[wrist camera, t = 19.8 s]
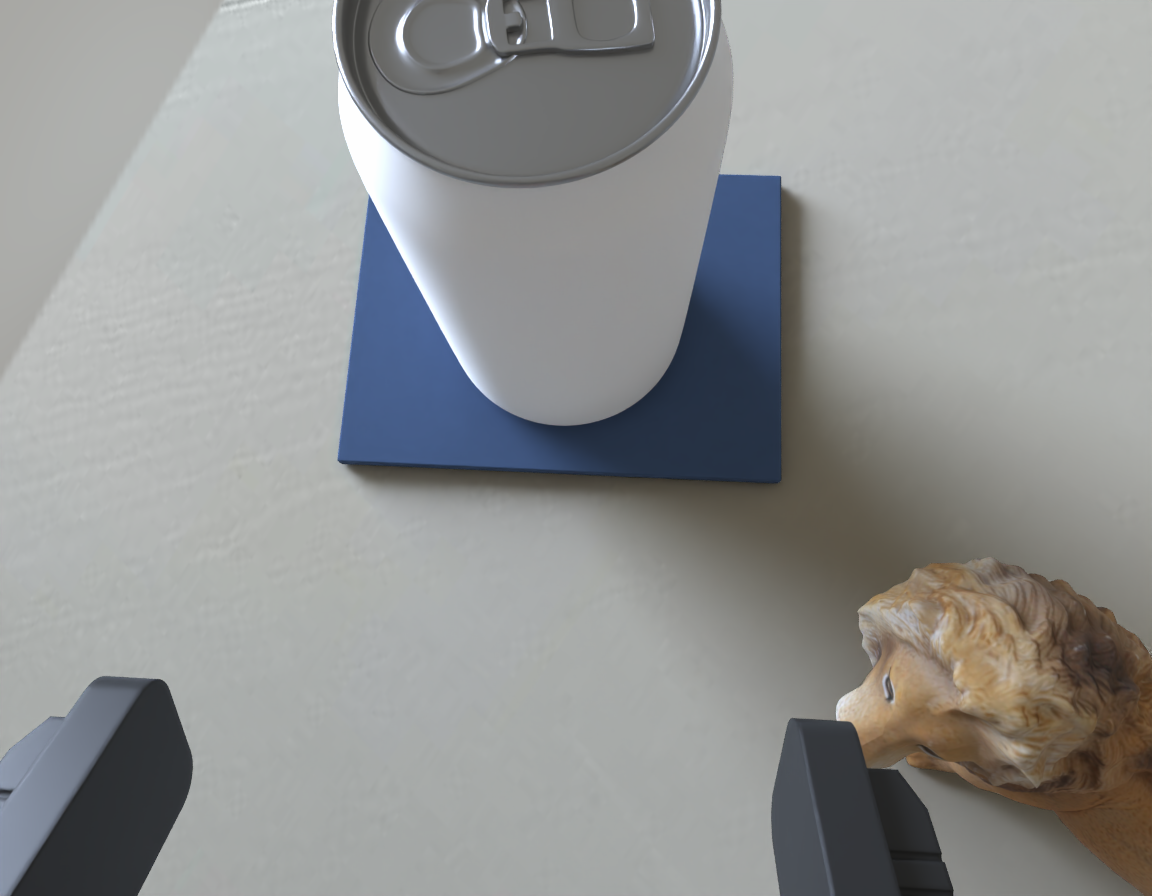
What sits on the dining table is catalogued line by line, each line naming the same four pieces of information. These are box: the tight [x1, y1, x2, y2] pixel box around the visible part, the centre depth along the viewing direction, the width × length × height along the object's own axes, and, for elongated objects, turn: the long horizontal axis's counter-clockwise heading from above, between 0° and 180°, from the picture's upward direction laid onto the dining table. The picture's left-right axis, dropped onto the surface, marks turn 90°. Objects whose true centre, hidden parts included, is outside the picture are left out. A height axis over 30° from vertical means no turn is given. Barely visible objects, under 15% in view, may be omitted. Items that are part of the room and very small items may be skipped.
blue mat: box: [338, 174, 781, 483], centre depth 24 cm, size 12×9×1 cm
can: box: [332, 0, 733, 426], centre depth 18 cm, size 6×6×12 cm
